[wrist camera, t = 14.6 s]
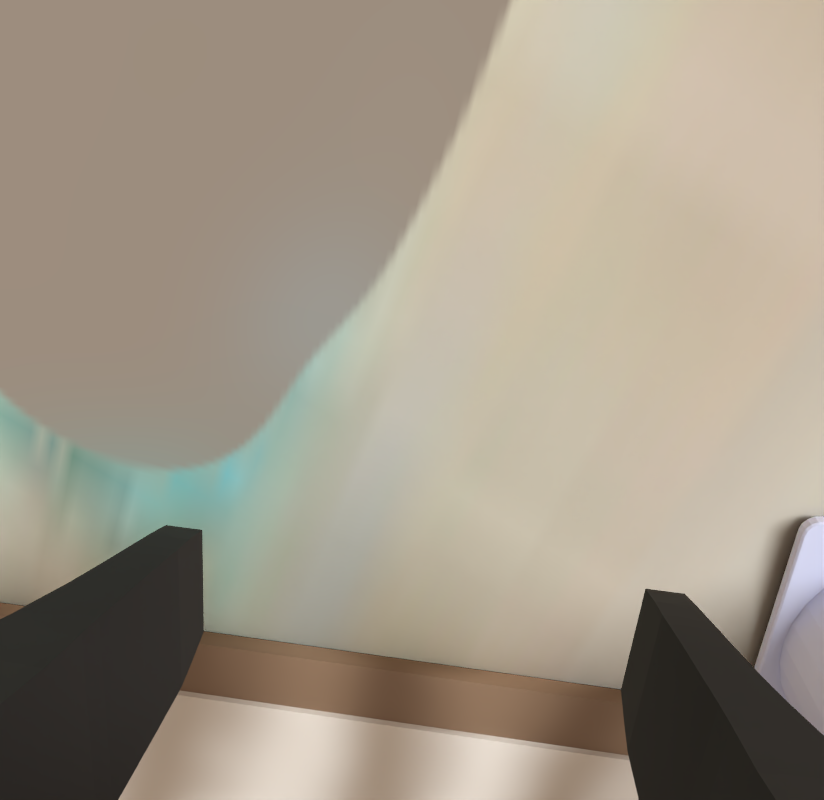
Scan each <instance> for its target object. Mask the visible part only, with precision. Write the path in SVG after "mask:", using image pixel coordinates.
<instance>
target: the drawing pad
mask: <svg viewBox="0 0 824 800" xmlns="http://www.w3.org/2000/svg"><path fill="white" fill-rule="evenodd" d="M23 607H25V606H20V605H13V604H5V603H0V619H2V618H4V617H6V616H8V615H10V614H12V613H14V612H15V611H17V610H19V609H21V608H23ZM118 800H639V799H638V794H637V790H636V786H635V782H634V777H633V773H632V769H631V765H630V760H629V756H628V751H627V743H626V735H625V726H624V717H623V706H622V696H621V690H619V689H611V688H604V687H597V686H590V685H583V684H576V683H569V682H562V681H554V680H547V679H540V678H533V677H526V676H519V675H512V674H505V673H497V672H490V671H483V670H476V669H469V668H462V667H455V666H447V665H440V664H433V663H426V662H419V661H412V660H405V659H398V658H390V657H383V656H376V655H369V654H362V653H355V652H348V651H341V650H333V649H326V648H319V647H312V646H305V645H298V644H291V643H284V642H276V641H269V640H262V639H255V638H248V637H241V636H234V635H226V634H219V633H212V632H205V631H204V632H203V635H202V637H201V640H200V642H199V645H198V648H197V650H196V653H195V655H194V658H193V661H192V663H191V666H190V668H189V670H188V673H187V675H186V678H185V680H184V682H183V685H182V687H181V689H180V691H179V693H178V694H177V696H176V698H175V700H174V702H173V704H172V705H171V707H170V709H169V711H168V713H167V714H166V716H165V718H164V720H163V722H162V723H161V725H160V727H159V729H158V731H157V732H156V734H155V736H154V738H153V739H152V741H151V743H150V745H149V746H148V748H147V750H146V752H145V753H144V755H143V757H142V759H141V761H140V762H139V764H138V766H137V768H136V769H135V771H134V773H133V775H132V776H131V778H130V780H129V782H128V784H127V785H126V787H125V789H124V791H123V792H122V794H121V796H120V798H119V799H118Z"/></svg>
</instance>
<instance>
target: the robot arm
mask: <svg viewBox="0 0 824 800" xmlns="http://www.w3.org/2000/svg"><path fill="white" fill-rule="evenodd" d="M203 632H204V630H203V558H202V530H198V529H190V528H183V527H175V526H167V525H166V526H164V527H162V528H160V529H158V530H156V531H155V532H153V533H151V534H149V535H148V536H146V537H144V538H143V539H141V540H139V541H138V542H136V543H134V544H133V545H131V546H129V547H128V548H126V549H125V550H123V551H121V552H120V553H118V554H116V555H115V556H113V557H111V558H110V559H108V560H106V561H105V562H103V563H101V564H100V565H98V566H96V567H95V568H93V569H91V570H90V571H88V572H86V573H84V574H83V575H81V576H79V577H78V578H76V579H74V580H73V581H71V582H69V583H67V584H66V585H64V586H62V587H60V588H58V589H56V590H55V591H53V592H51V593H49V594H47V595H45V596H43V597H41V598H40V599H38V600H36V601H34V602H32V603H30V604H28V605H27V606H25V607H23V608H21V609H19V610H17V611H15V612H14V613H12V614H10V615H8V616H6V617H4V618H2V619H0V800H118V799H119V798H120V796H121V794H122V792H123V791H124V789H125V787H126V785H127V784H128V782H129V780H130V778H131V776H132V775H133V773H134V771H135V769H136V768H137V766H138V764H139V762H140V761H141V759H142V757H143V755H144V753H145V752H146V750H147V748H148V746H149V745H150V743H151V741H152V739H153V738H154V736H155V734H156V732H157V731H158V729H159V727H160V725H161V723H162V722H163V720H164V718H165V716H166V714H167V713H168V711H169V709H170V707H171V705H172V704H173V702H174V700H175V698H176V696H177V694H178V693H179V691H180V689H181V687H182V685H183V682H184V680H185V678H186V675H187V673H188V670H189V668H190V666H191V663H192V661H193V658H194V655H195V653H196V650H197V648H198V645H199V642H200V640H201V637H202V635H203ZM621 696H622V706H623V717H624V726H625V735H626V743H627V751H628V756H629V760H630V765H631V769H632V773H633V777H634V782H635V786H636V790H637V794H638V799H639V800H824V516H814V517H812V518H809V519H807V520H806V521H804V522H803V523H802V524H801V526H800V527H799V529H798V532H797V535H796V538H795V541H794V545H793V548H792V551H791V554H790V557H789V560H788V563H787V566H786V570H785V573H784V576H783V579H782V582H781V585H780V588H779V591H778V595H777V598H776V601H775V604H774V607H773V610H772V613H771V617H770V620H769V623H768V626H767V629H766V632H765V635H764V638H763V642H762V645H761V648H760V651H759V654H758V657H757V660H756V664H755V667H753V666H752V665H751V664H750V663H749V662H748V661H747V660H746V659H745V658H744V657H743V656H742V655H741V654H740V653H739V652H738V651H737V649H736V648H735V647H734V646H733V645H732V644H731V643H730V642H729V641H728V640H727V639H726V638H725V636H724V635H723V634H722V633H721V632H720V631H719V630H718V629H717V628H716V627H715V626H714V624H713V623H712V622H711V621H710V620H709V619H708V618H707V617H706V616H705V615H704V614H703V612H702V611H701V610H700V609H699V608H698V607H697V606H696V605H695V604H694V603H693V602H692V601H691V600H690V599H689V598H688V597H687V596H686V595H685V594H681V593H673V592H666V591H658V590H651V589H645V593H644V598H643V602H642V606H641V610H640V614H639V618H638V622H637V626H636V631H635V635H634V639H633V643H632V647H631V651H630V655H629V660H628V664H627V668H626V672H625V676H624V680H623V684H622V688H621Z"/></svg>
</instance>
